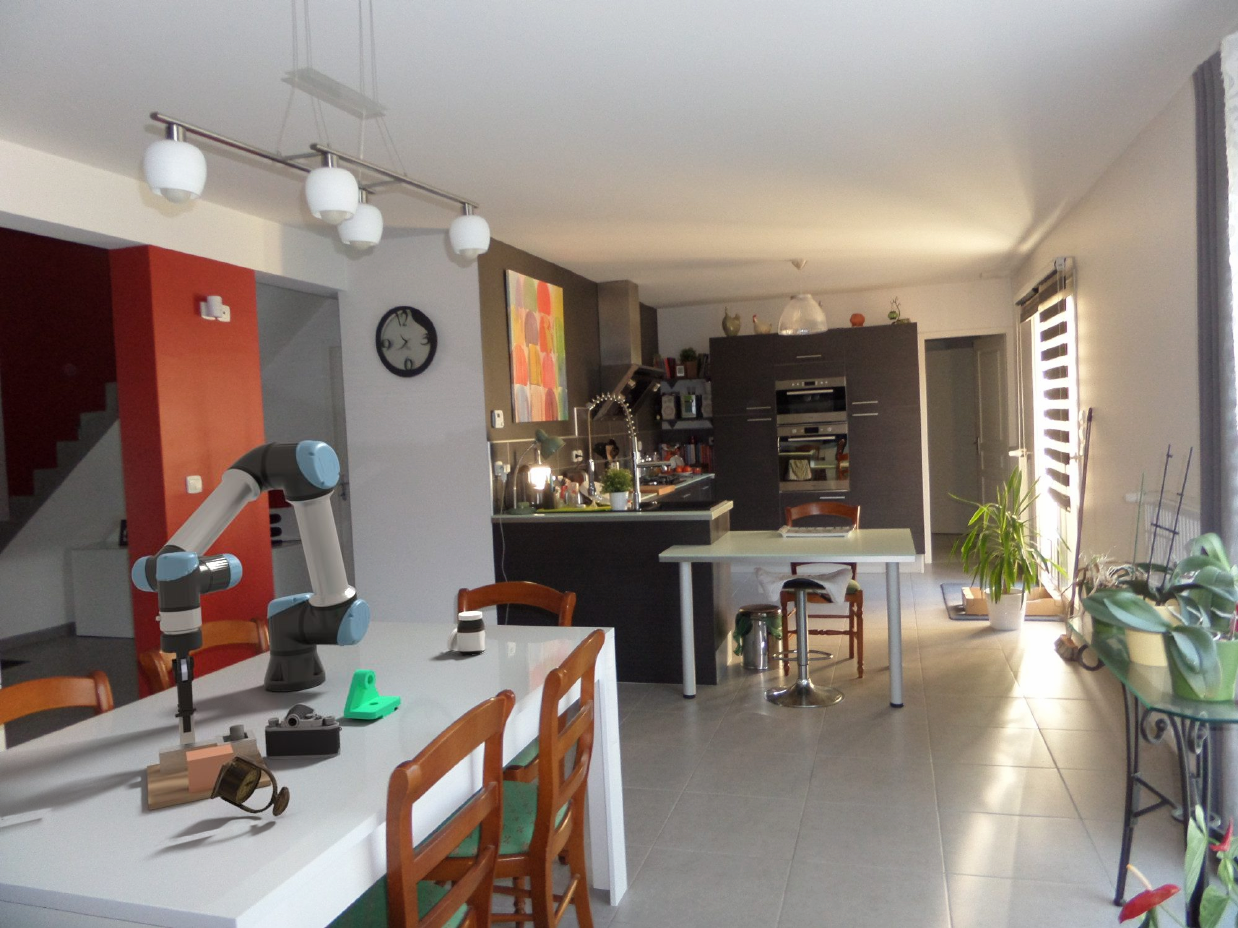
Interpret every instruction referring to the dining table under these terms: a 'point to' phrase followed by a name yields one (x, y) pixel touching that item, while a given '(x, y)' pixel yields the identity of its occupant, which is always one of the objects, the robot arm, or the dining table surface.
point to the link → (176, 755)
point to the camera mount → (368, 698)
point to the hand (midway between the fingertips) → (187, 746)
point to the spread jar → (468, 634)
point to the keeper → (206, 766)
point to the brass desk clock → (247, 785)
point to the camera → (302, 735)
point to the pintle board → (186, 781)
